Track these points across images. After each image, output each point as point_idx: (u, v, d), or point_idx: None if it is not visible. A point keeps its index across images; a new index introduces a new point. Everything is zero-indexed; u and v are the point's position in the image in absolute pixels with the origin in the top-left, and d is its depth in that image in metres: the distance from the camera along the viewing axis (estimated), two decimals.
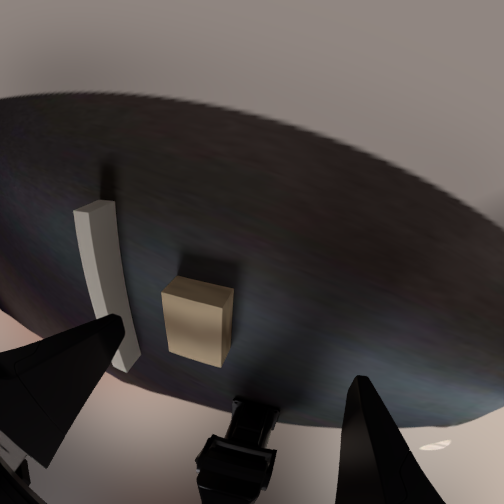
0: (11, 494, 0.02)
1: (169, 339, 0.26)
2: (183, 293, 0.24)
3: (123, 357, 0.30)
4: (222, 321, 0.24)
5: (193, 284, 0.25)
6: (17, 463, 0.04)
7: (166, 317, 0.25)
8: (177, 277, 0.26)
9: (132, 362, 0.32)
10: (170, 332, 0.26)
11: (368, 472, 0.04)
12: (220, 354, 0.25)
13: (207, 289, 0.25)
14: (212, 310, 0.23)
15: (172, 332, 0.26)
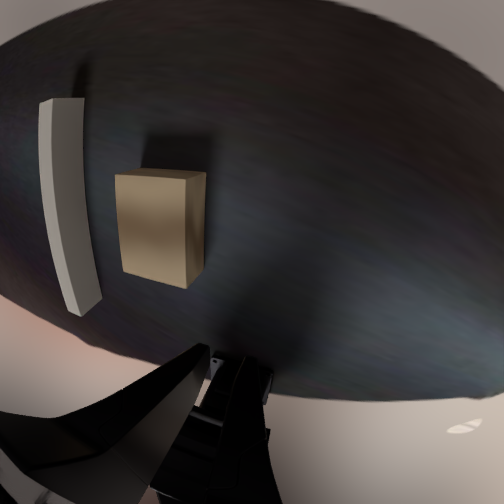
0: (11, 494, 0.02)
1: (122, 250, 0.20)
2: (141, 174, 0.17)
3: (76, 293, 0.23)
4: (187, 205, 0.17)
5: (156, 170, 0.19)
6: None
7: (119, 213, 0.18)
8: (139, 168, 0.20)
9: (89, 305, 0.26)
10: (123, 237, 0.19)
11: None
12: (184, 263, 0.19)
13: (172, 172, 0.18)
14: (173, 185, 0.16)
15: (126, 236, 0.19)
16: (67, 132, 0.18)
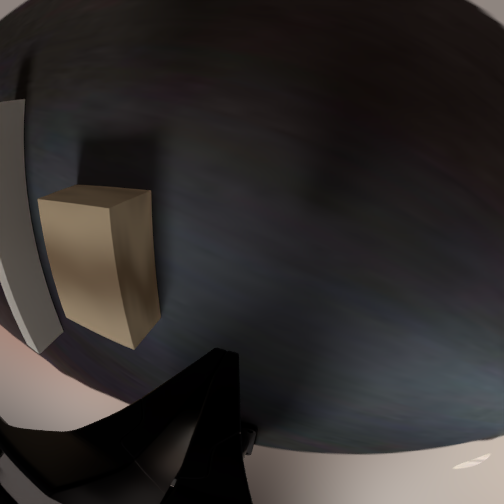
0: (11, 494, 0.02)
1: (60, 293, 0.13)
2: (65, 197, 0.11)
3: (30, 330, 0.17)
4: (117, 245, 0.11)
5: (89, 189, 0.13)
6: None
7: (48, 249, 0.12)
8: (75, 185, 0.13)
9: (48, 340, 0.19)
10: (57, 279, 0.13)
11: None
12: (126, 321, 0.12)
13: (105, 192, 0.12)
14: (96, 217, 0.10)
15: (59, 278, 0.13)
16: (3, 143, 0.12)
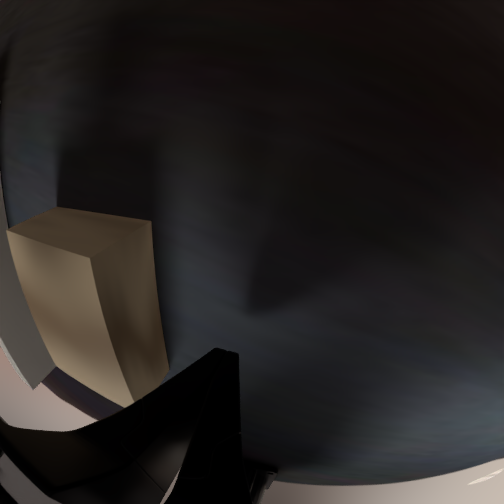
0: (11, 494, 0.02)
1: (45, 341, 0.10)
2: (37, 230, 0.08)
3: (20, 366, 0.14)
4: (106, 305, 0.07)
5: (70, 216, 0.09)
6: None
7: (24, 292, 0.09)
8: (54, 208, 0.10)
9: (42, 375, 0.16)
10: (40, 326, 0.10)
11: None
12: (127, 389, 0.09)
13: (89, 222, 0.09)
14: (74, 266, 0.07)
15: (42, 326, 0.09)
16: None
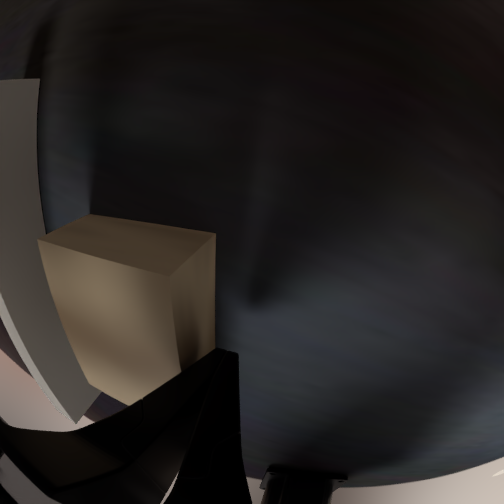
0: (11, 494, 0.02)
1: (80, 360, 0.10)
2: (80, 240, 0.08)
3: (62, 401, 0.13)
4: (179, 325, 0.07)
5: (116, 224, 0.09)
6: None
7: (58, 308, 0.09)
8: (90, 215, 0.10)
9: (85, 406, 0.15)
10: (75, 345, 0.09)
11: None
12: None
13: (144, 232, 0.09)
14: (142, 285, 0.07)
15: (78, 345, 0.09)
16: (5, 145, 0.07)
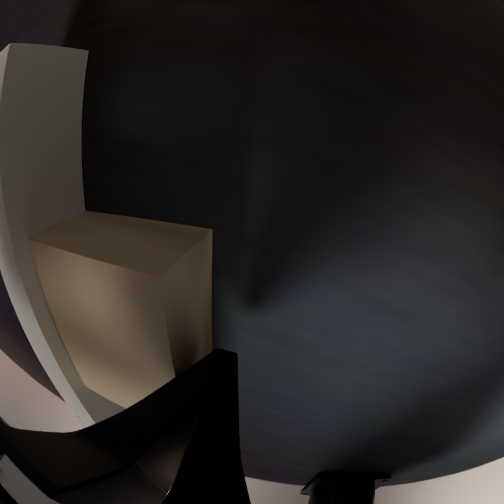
0: (11, 494, 0.02)
1: (73, 361, 0.10)
2: (70, 240, 0.07)
3: None
4: (172, 328, 0.07)
5: (108, 223, 0.09)
6: None
7: (51, 309, 0.08)
8: (82, 213, 0.10)
9: None
10: (69, 346, 0.09)
11: None
12: None
13: (136, 231, 0.08)
14: (133, 286, 0.06)
15: (71, 347, 0.09)
16: (42, 128, 0.06)
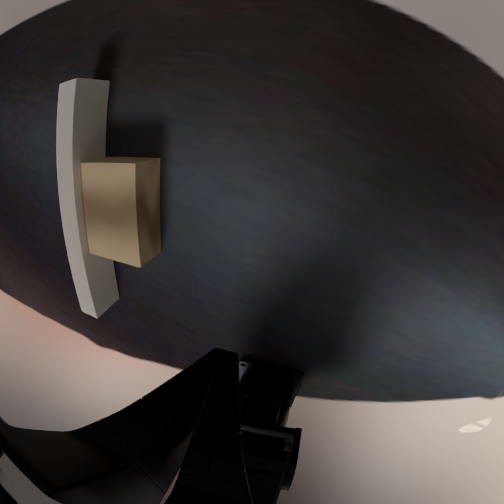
0: (11, 494, 0.02)
1: (88, 232, 0.20)
2: (101, 161, 0.18)
3: (93, 293, 0.22)
4: (137, 187, 0.17)
5: (117, 158, 0.19)
6: None
7: (84, 198, 0.19)
8: (105, 157, 0.20)
9: (106, 305, 0.25)
10: (88, 220, 0.19)
11: None
12: (137, 243, 0.19)
13: (129, 158, 0.19)
14: (126, 169, 0.17)
15: (90, 219, 0.19)
16: (90, 116, 0.17)
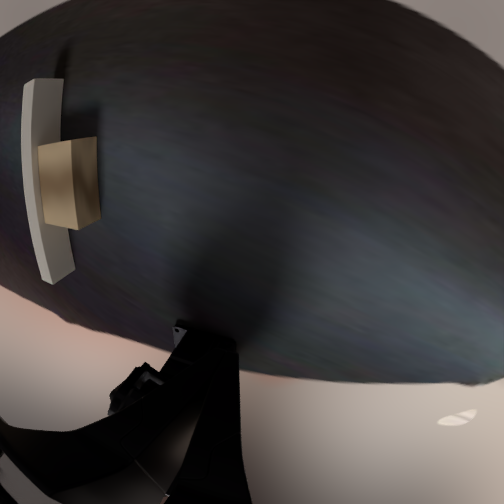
0: (11, 494, 0.02)
1: (43, 204, 0.21)
2: None
3: (48, 260, 0.23)
4: (73, 159, 0.18)
5: None
6: None
7: (40, 175, 0.19)
8: None
9: (62, 274, 0.25)
10: (43, 194, 0.20)
11: None
12: (75, 207, 0.20)
13: None
14: (65, 146, 0.17)
15: (44, 193, 0.20)
16: (46, 108, 0.18)
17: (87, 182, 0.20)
